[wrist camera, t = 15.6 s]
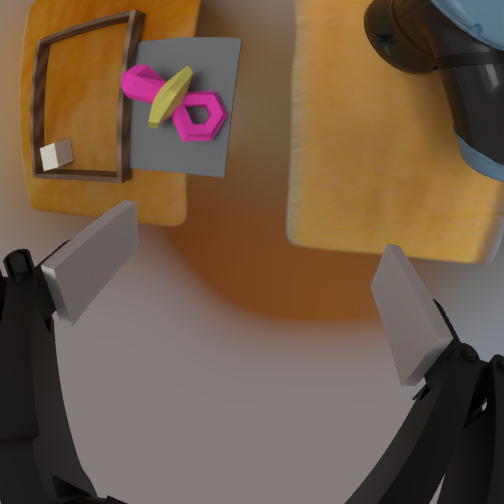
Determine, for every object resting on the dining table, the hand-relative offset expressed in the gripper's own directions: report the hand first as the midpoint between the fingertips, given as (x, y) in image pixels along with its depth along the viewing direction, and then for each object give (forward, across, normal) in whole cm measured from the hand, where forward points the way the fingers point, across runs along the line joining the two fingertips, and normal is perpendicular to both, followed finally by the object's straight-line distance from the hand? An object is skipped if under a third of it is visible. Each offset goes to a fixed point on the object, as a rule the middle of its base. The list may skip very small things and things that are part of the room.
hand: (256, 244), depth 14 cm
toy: (+32, -17, +7) cm, 37 cm away
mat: (+33, -17, +6) cm, 37 cm away
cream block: (+33, -44, -3) cm, 55 cm away
